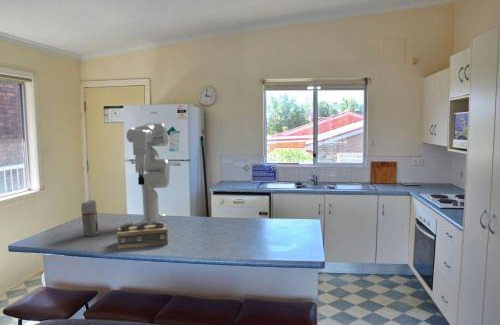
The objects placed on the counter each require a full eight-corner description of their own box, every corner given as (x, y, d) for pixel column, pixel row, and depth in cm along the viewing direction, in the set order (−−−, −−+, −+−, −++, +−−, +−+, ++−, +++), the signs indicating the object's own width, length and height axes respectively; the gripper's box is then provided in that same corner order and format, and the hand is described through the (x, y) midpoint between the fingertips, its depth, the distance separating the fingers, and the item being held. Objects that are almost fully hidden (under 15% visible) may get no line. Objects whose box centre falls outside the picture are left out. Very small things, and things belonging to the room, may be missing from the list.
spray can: (93, 237, 224) (91, 202, 222) (80, 236, 225) (78, 201, 223) (101, 233, 232) (100, 199, 230) (89, 232, 234) (87, 198, 232)
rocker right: (151, 222, 214) (152, 219, 214) (162, 224, 216) (163, 221, 216) (152, 224, 210) (152, 221, 210) (163, 226, 212) (164, 223, 212)
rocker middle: (137, 226, 212) (136, 224, 212) (148, 223, 214) (147, 220, 213) (137, 228, 208) (136, 226, 208) (148, 224, 210) (147, 222, 209)
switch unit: (118, 241, 214) (117, 222, 213) (166, 237, 221) (165, 219, 220) (117, 249, 202) (116, 228, 201) (167, 244, 209) (167, 224, 208)
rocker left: (121, 228, 210) (120, 225, 210) (132, 224, 212) (131, 221, 211) (121, 230, 206) (120, 227, 206) (132, 226, 208) (131, 223, 207)
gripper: (133, 151, 229) (134, 182, 231) (133, 153, 214) (134, 186, 216) (146, 150, 231) (147, 182, 233) (147, 152, 216) (148, 186, 218)
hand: (141, 184), depth 224 cm, fingers closed
